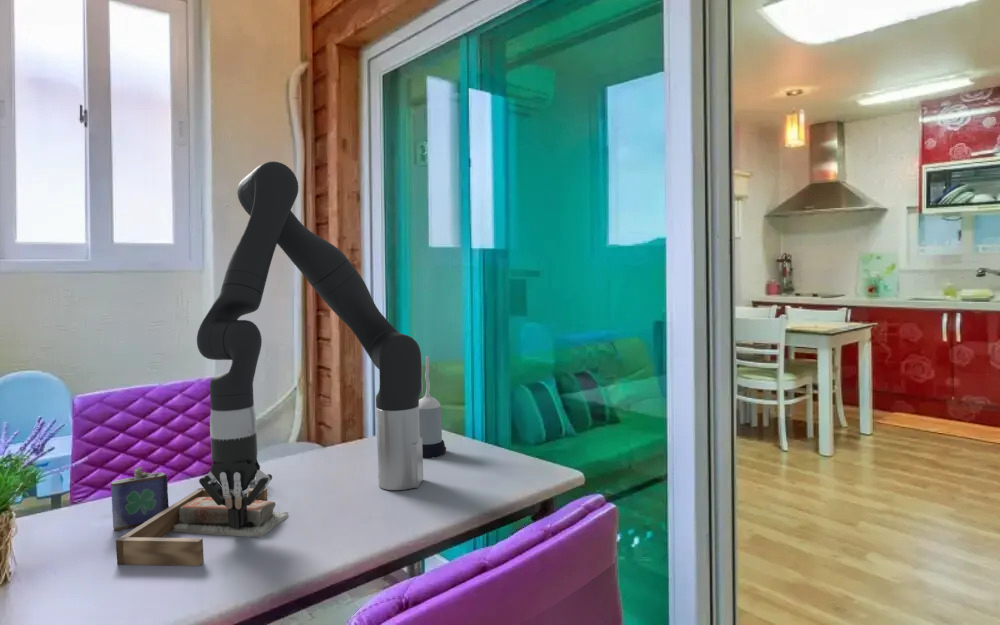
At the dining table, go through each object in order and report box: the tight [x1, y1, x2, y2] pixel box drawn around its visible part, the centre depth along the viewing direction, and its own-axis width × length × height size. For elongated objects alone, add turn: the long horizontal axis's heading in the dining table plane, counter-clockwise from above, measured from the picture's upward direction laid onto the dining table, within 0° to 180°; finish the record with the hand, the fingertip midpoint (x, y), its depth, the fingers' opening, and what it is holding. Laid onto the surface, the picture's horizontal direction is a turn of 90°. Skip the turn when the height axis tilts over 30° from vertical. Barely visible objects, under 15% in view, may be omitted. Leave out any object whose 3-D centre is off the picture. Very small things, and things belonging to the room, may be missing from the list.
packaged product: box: [172, 497, 289, 538], centre depth 118 cm, size 18×5×10 cm
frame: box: [115, 487, 269, 567], centre depth 113 cm, size 14×24×4 cm, turn 175°
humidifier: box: [419, 355, 447, 459], centre depth 160 cm, size 8×8×25 cm
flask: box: [110, 466, 170, 531], centre depth 118 cm, size 9×3×11 cm, turn 121°
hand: (238, 527), depth 113 cm, fingers closed
